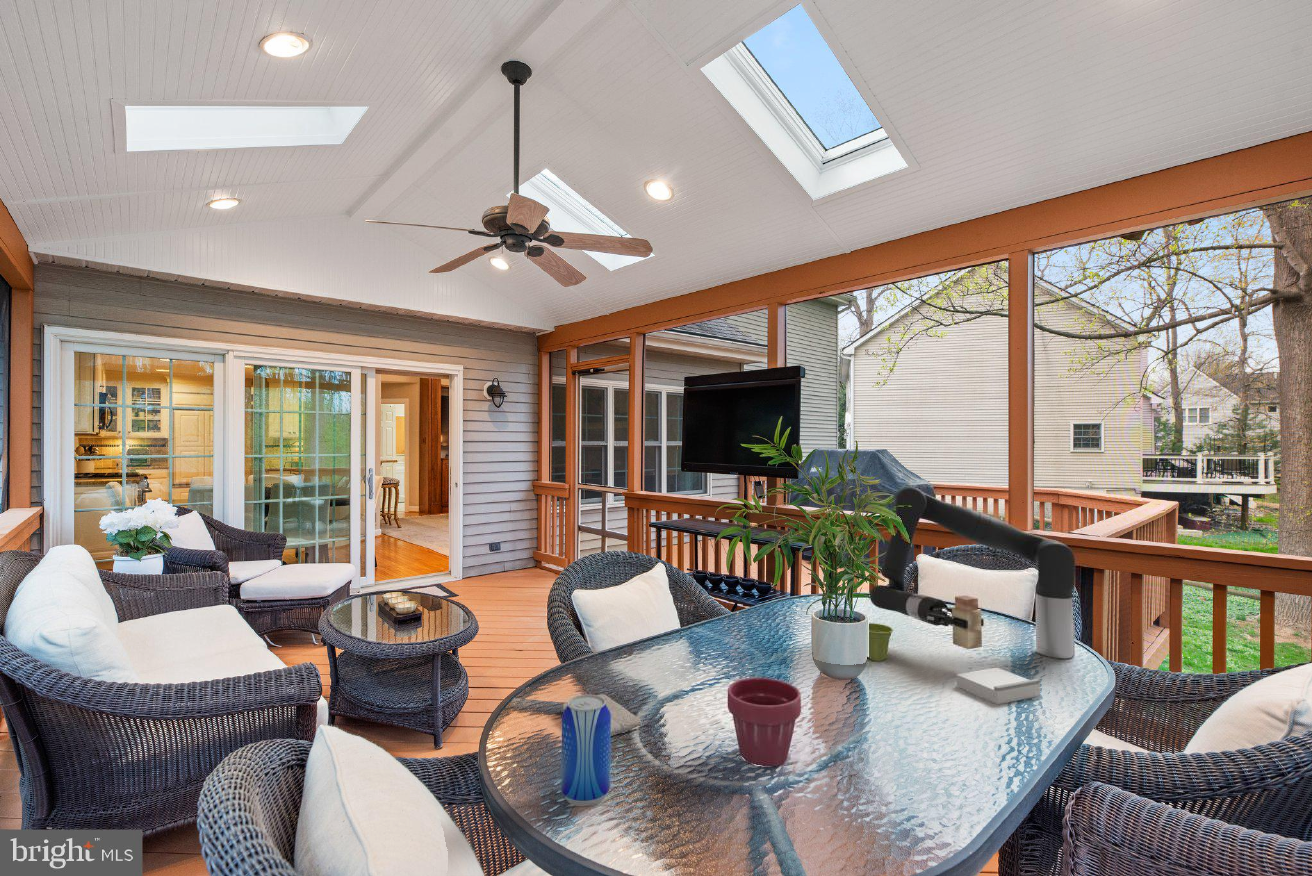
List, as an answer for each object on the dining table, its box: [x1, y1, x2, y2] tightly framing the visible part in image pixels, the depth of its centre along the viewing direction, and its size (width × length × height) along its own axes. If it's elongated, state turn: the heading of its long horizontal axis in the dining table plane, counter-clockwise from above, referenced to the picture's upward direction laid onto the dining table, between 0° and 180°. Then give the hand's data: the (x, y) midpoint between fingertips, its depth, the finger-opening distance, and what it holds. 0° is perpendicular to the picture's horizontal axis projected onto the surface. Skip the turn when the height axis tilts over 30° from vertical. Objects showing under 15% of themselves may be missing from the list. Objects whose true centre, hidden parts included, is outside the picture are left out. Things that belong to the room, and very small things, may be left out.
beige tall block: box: [952, 595, 983, 650], centre depth 171 cm, size 5×5×13 cm
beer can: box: [560, 694, 612, 807], centre depth 108 cm, size 8×8×16 cm
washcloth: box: [560, 693, 643, 735], centre depth 138 cm, size 12×18×3 cm, turn 35°
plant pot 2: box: [868, 622, 894, 662], centre depth 181 cm, size 9×9×9 cm
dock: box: [955, 667, 1041, 705], centre depth 156 cm, size 14×12×4 cm
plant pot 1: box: [727, 677, 802, 767], centre depth 122 cm, size 14×14×13 cm
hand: (974, 623), depth 169 cm, fingers closed on beige tall block, 5 cm apart
